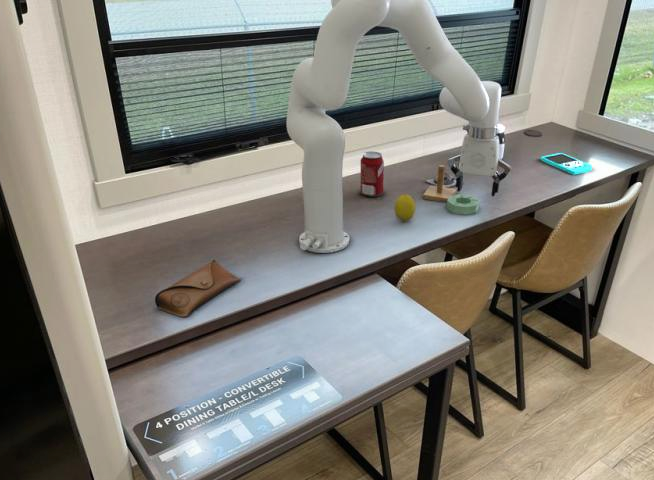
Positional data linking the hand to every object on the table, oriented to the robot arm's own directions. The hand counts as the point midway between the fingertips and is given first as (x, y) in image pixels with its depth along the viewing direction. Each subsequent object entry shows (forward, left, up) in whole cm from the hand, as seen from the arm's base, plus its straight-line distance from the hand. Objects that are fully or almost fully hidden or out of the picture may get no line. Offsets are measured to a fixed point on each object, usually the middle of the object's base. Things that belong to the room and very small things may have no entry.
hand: (476, 192), depth 168 cm
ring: (0, +4, -5) cm, 6 cm away
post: (+6, +12, -5) cm, 14 cm away
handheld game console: (+49, -21, -6) cm, 53 cm away
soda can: (0, +31, -6) cm, 31 cm away
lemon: (-15, +16, -6) cm, 23 cm away
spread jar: (+44, +6, -6) cm, 44 cm away
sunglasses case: (-67, +45, -6) cm, 81 cm away
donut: (+17, +14, -4) cm, 22 cm away
